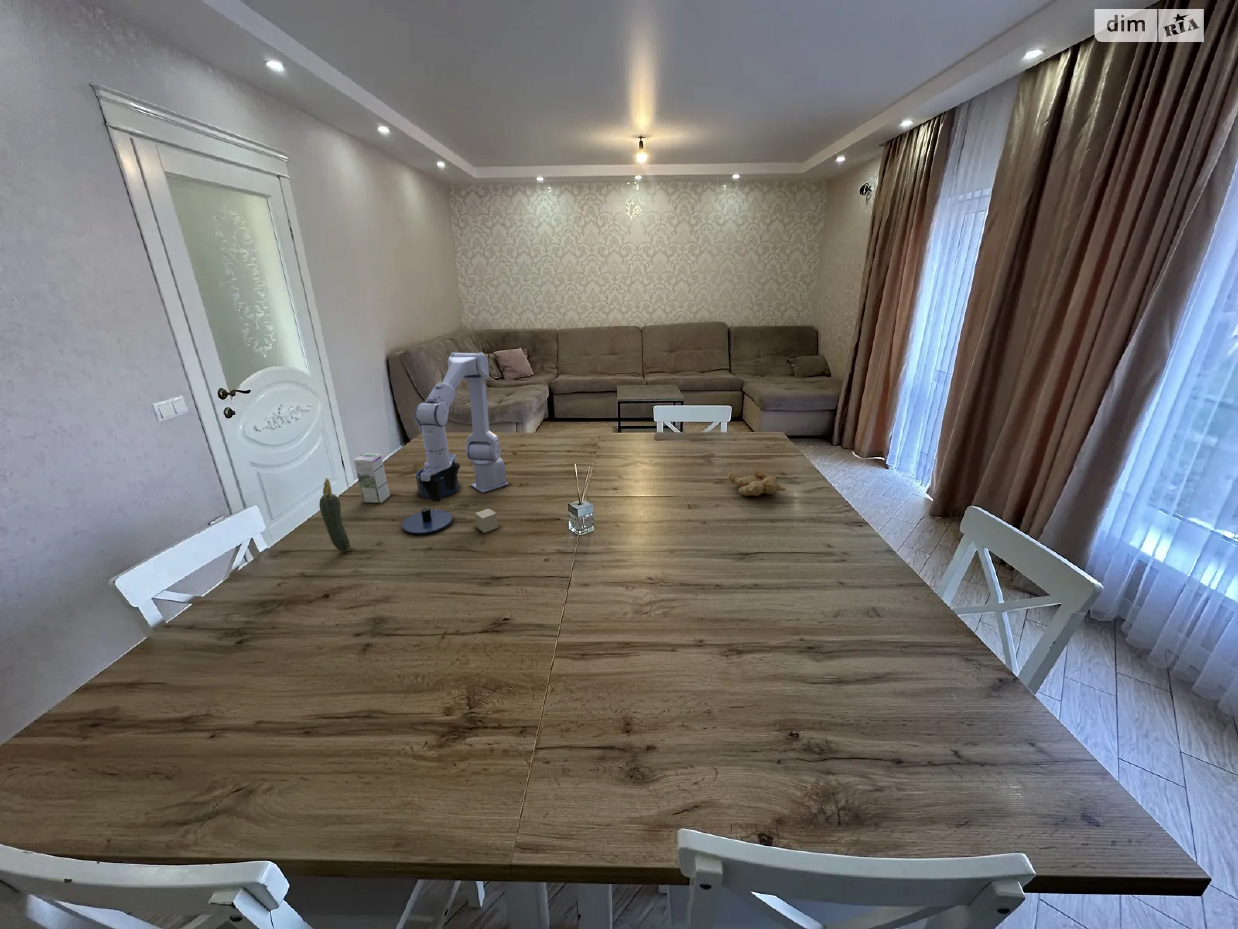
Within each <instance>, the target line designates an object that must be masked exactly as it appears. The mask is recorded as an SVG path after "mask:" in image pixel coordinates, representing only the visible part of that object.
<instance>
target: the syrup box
mask: <svg viewBox="0 0 1238 929" xmlns="http://www.w3.org/2000/svg"><path fill="white" fill-rule="evenodd" d="M353 463H354V469H355V471H356V476H357V481H358V484H359V489H360V493H361V497H362V501H363V502H362V503H364V504H365V503H367V504H382V503H383V502H385V501H386V500H387V499H388V498H389V497H391V493H390V489H389V485H388V481H387V476H386V471H385V466H384V461H383V456H382V454H381V453H362V454H360V455H358V456H356V457H355V458H354V459H353Z"/></svg>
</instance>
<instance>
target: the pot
mask: <svg viewBox="0 0 1238 929" xmlns="http://www.w3.org/2000/svg"><path fill="white" fill-rule="evenodd" d="M424 469H425V467H423V468H421V469H419V470H418V471H417V472H416V473H415V480H416V484H417V489H418V490H417V492H418V494H419V496H420V497H422V498H425V499H431V498H430V496H429V494H428V492H427V490H426V489H425V487H424V486H423V485H422V484H421V483H420V482H419V478H420V477H421V476H420V474H421V473H422V472H423V471H424ZM435 477H436V478H442V482H441V488H440V492H441V498H446V497H449V496H451V495H454V494H456V493H457V492H458V491H459V489H460V485H459V478H458V476H457V477H456V484H455V489H454V490H447V488H446V485H445V481H444V478H443V475H442V472H441V471H440V472H438V473H437V474H435Z"/></svg>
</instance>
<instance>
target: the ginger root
mask: <svg viewBox="0 0 1238 929" xmlns="http://www.w3.org/2000/svg"><path fill="white" fill-rule="evenodd" d="M753 471H754V476H745V475H743V474H741V473H738V472H735V471H733V472H732V471H731V472H727V476H726V477H727V480H728V481H729V483H732V484H734V485H735V486H736V487H738V489H737V492H738V493H739V494H740V495H741V496H745V497H750V496H754V497H758V496H760V495H762V494H763V495H764V494H767V495H773V494H777V493H778V492H785V491H786V490H787V488H786V487H784V486H781V485H780V484H779V481H778V479H777V477H775V476H771V475H770V476H769V475H768V474H767V473H766V472H764V471H761V469H760V468H759V467H757V466H755V467H753Z"/></svg>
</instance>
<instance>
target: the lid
mask: <svg viewBox="0 0 1238 929" xmlns="http://www.w3.org/2000/svg"><path fill="white" fill-rule="evenodd" d="M452 521H453V515H452V514H451V513H450V512H449V511H446V510H444V509H443V510H442V509H431V507H423V508H421V509H420V511H419V512H416V513H414V514H411V515H410V516H407V517H406V518H405V519H404V520H403V521H402V524H401V528H402V530H403V531H404V532H406V533H408V534H414V535H424V534H431V533H436V532H438V531H440V530H443V529H444V528H446V527H448V526H449V525H450V524H452Z"/></svg>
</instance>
